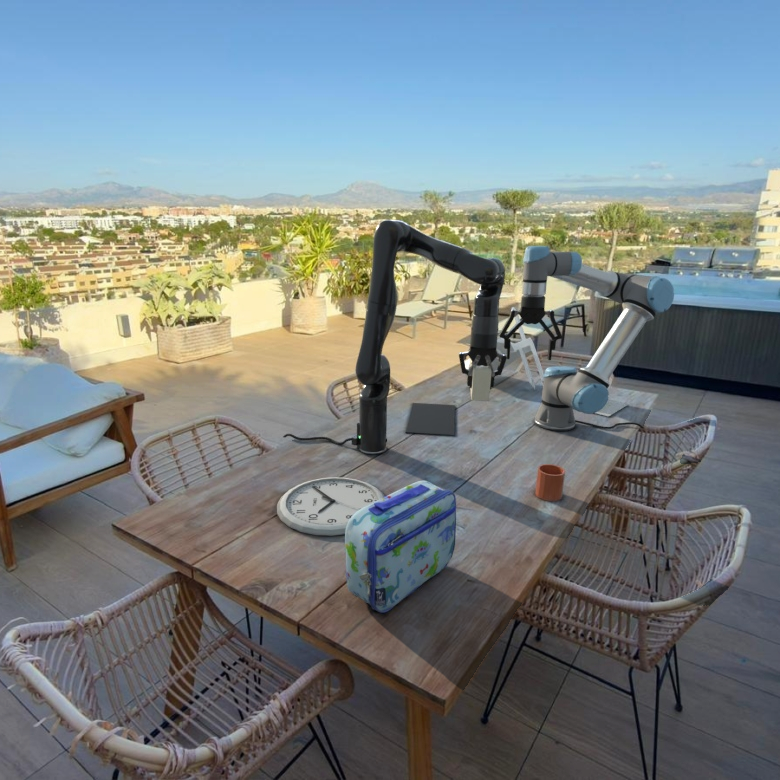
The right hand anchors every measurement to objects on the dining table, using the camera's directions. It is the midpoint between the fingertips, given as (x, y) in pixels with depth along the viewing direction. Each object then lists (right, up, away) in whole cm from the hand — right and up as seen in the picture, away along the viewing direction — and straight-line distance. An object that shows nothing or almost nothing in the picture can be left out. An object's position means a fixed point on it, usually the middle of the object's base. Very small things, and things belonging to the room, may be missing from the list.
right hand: (528, 358), depth 176 cm
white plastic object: (+7, -7, +82) cm, 83 cm away
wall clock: (-62, -42, -33) cm, 82 cm away
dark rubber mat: (-30, -22, +33) cm, 49 cm away
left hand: (-20, -10, -23) cm, 32 cm away
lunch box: (-44, -52, -64) cm, 94 cm away
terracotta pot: (-1, -41, -26) cm, 48 cm away
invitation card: (+45, -18, +50) cm, 69 cm away
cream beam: (-19, -10, -14) cm, 26 cm away
